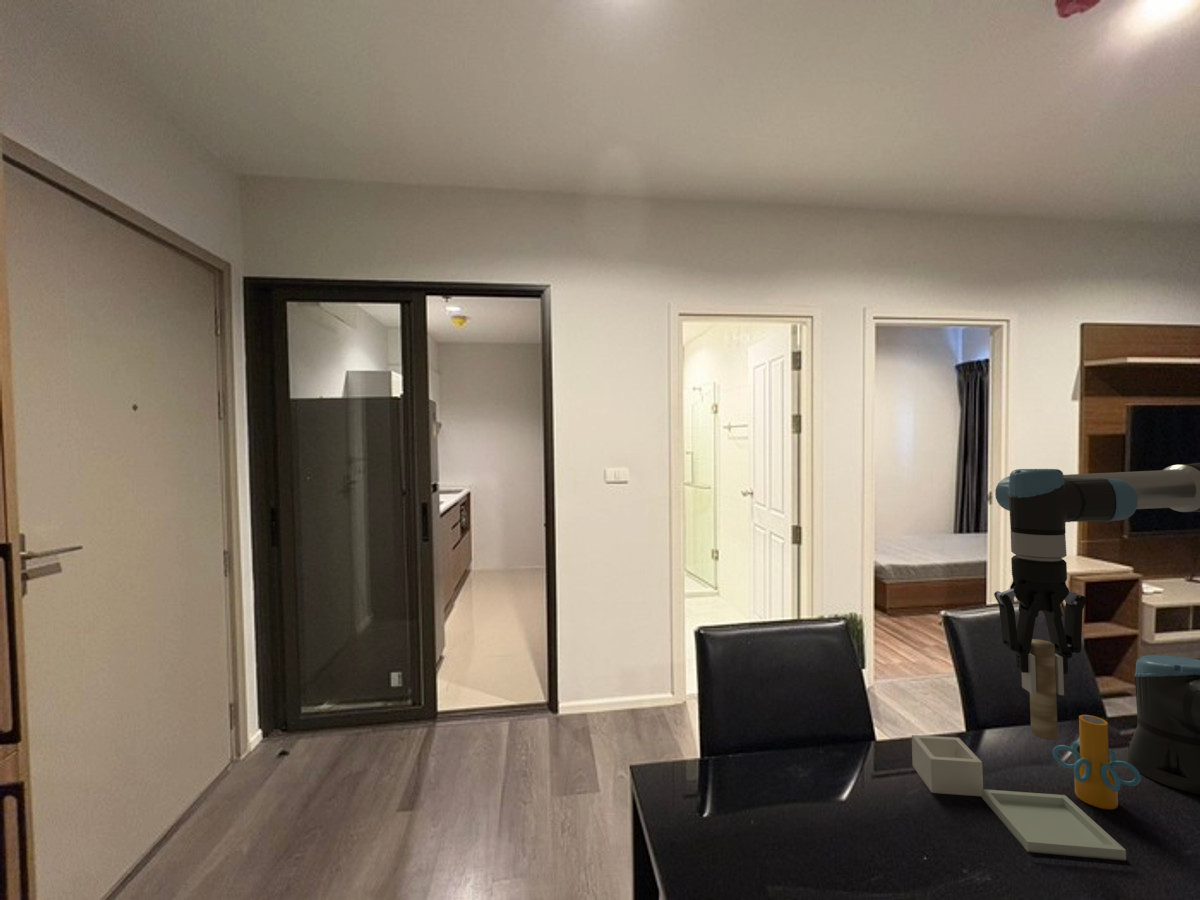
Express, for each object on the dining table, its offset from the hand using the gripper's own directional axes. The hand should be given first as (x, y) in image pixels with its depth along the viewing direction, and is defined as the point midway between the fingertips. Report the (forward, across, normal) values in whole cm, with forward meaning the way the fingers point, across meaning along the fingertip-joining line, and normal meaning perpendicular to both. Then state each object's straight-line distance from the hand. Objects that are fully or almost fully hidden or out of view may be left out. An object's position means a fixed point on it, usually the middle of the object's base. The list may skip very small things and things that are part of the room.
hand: (1042, 690), depth 94 cm
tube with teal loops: (+24, -14, -10) cm, 30 cm away
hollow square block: (+24, +11, -12) cm, 29 cm away
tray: (+24, 0, 0) cm, 24 cm away
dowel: (+8, 0, 0) cm, 8 cm away
